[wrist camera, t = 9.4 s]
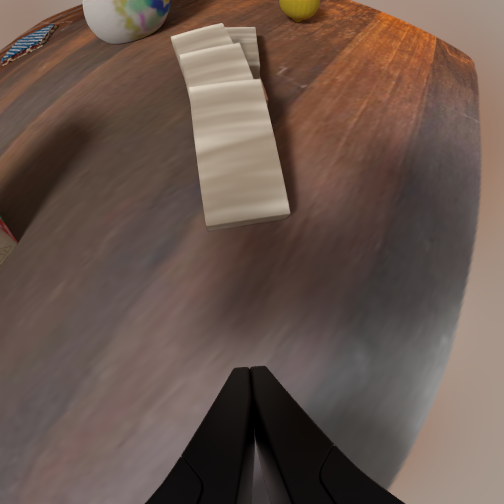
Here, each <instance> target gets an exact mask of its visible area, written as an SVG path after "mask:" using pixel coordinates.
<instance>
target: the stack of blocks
mask: <svg viewBox="0 0 504 504" xmlns="http://www.w3.org/2000/svg"><path fill="white" fill-rule="evenodd" d="M17 244H18V242H17V241H16V239H15V238H14V236H13V235H12V233H11V231H10V230H9V228H8V227H7V225H6V224H5V223H4V221H3V219H2V218H1V216H0V266H1V264H2V263H3V262H4V260H5V259H6V258H7V257H8V255H9V254H10V253H11V252H12V250H13V249H14V248H15V247H16V245H17Z"/></svg>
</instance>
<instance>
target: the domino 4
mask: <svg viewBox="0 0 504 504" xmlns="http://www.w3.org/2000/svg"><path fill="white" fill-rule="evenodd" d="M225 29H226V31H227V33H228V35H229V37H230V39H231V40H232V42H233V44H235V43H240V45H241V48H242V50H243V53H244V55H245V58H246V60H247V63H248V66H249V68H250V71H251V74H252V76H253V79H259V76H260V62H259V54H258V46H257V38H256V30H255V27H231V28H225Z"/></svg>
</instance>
